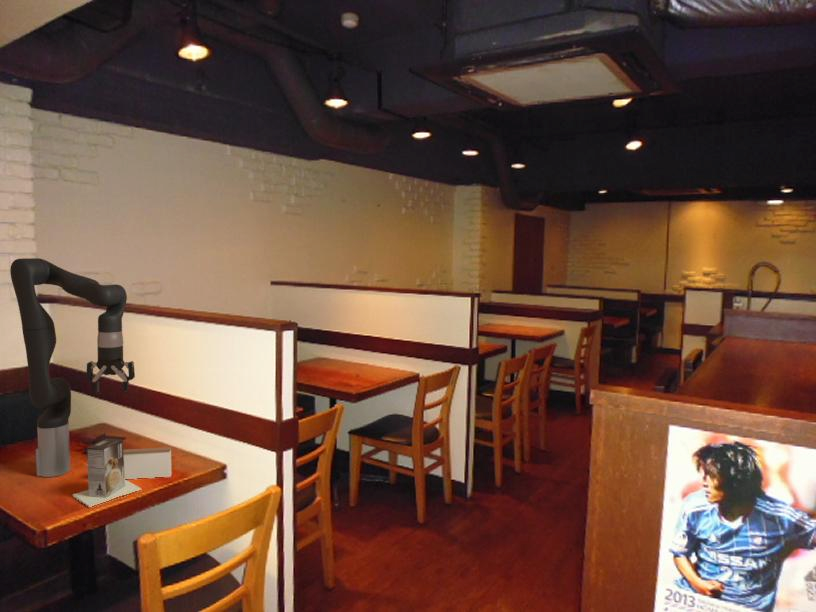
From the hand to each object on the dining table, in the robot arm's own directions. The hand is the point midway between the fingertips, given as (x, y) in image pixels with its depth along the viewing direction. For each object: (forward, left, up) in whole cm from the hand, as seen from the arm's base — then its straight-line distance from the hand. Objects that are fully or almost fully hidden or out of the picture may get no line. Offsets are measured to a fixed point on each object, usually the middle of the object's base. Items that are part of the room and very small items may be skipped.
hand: (111, 392), depth 185 cm
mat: (+1, -11, -31) cm, 33 cm away
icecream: (-12, +31, -31) cm, 46 cm away
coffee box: (+1, -11, -30) cm, 32 cm away
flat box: (+7, +1, -31) cm, 32 cm away
